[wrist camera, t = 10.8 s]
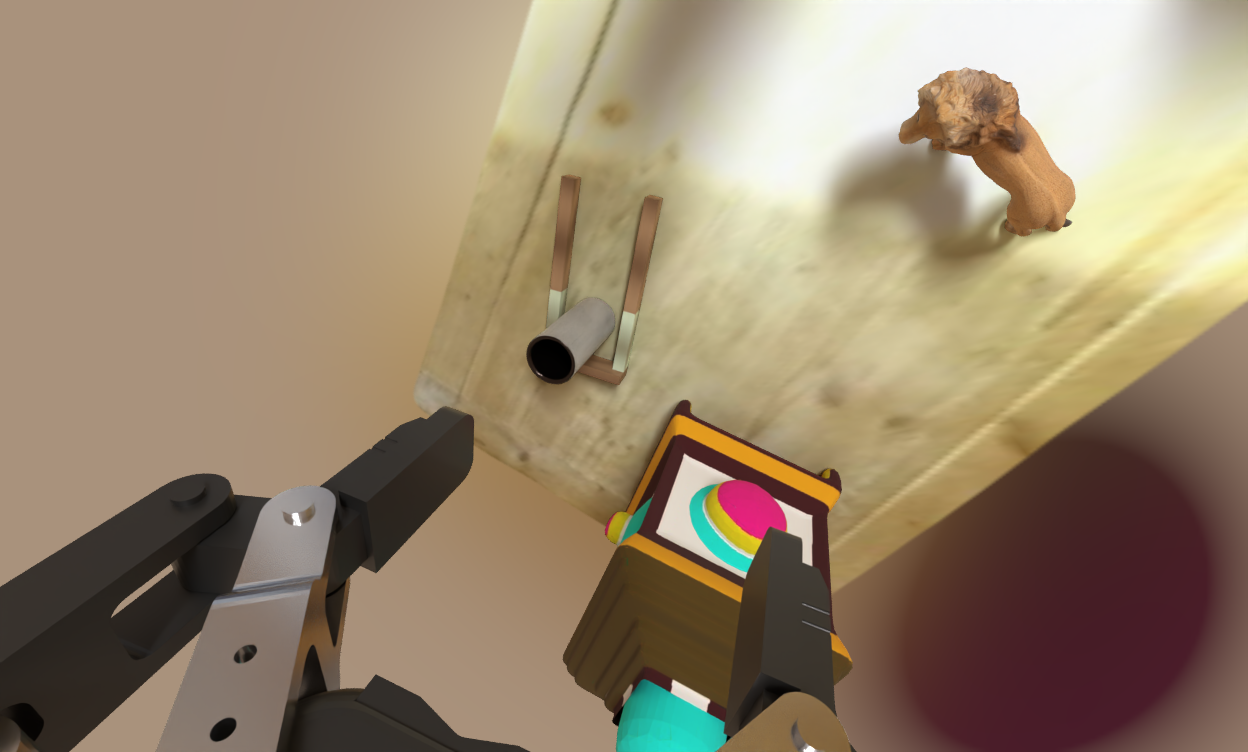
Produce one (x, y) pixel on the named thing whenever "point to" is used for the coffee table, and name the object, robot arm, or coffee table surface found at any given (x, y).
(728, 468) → the decorative lantern
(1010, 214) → the lion figurine
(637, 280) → the guide channel
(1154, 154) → the coffee table surface
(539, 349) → the grey hollow cylinder
